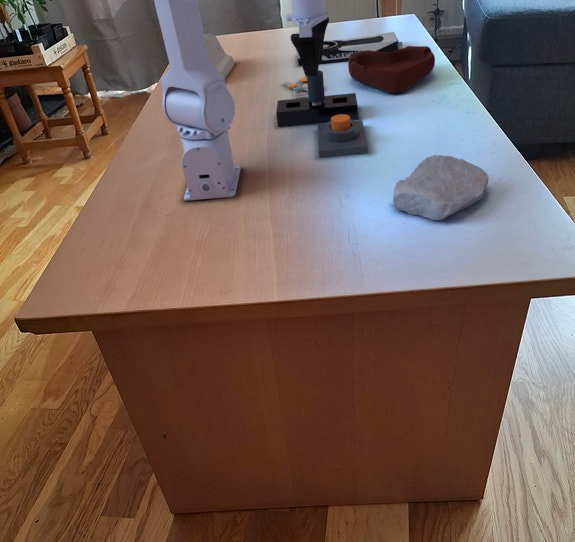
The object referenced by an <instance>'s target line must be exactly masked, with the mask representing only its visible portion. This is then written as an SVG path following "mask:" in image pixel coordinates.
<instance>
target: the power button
mask: <svg viewBox="0 0 575 542" xmlns="http://www.w3.org/2000/svg"><path fill="white" fill-rule="evenodd" d="M331 127H332V129H333V130H338V131H339V130H346V129H349V128H350V116H348V115H344V114H340V115H335V116H333V117H332V118H331Z"/></svg>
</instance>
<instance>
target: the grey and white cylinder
mask: <svg viewBox="0 0 575 542" xmlns="http://www.w3.org/2000/svg"><path fill="white" fill-rule="evenodd" d="M324 81H325V80H324V72H323V71H322V70H319V69H318V74H317V76H307V81H306V82H307V83H306V84H307V87H308V92H307V93H308V95H307V98H309V101H310V102H312V106H313V105H322V101H324V100H325V96H326V95H325V82H324Z"/></svg>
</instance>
